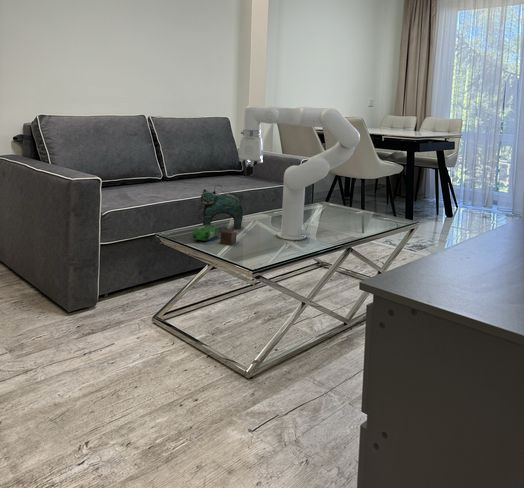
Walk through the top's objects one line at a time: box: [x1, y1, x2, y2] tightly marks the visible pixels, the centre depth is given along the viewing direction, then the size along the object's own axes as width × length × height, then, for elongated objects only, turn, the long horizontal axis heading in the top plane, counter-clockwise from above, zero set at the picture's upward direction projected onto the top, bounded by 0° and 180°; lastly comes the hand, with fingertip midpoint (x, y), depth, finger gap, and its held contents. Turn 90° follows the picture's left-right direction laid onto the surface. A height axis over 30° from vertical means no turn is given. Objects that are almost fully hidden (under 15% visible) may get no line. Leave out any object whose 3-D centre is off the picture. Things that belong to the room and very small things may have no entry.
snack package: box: [192, 224, 220, 242], centre depth 209 cm, size 7×16×5 cm, turn 160°
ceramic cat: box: [200, 184, 244, 229], centre depth 231 cm, size 20×6×20 cm, turn 99°
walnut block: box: [219, 228, 238, 246], centre depth 205 cm, size 5×5×5 cm
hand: (249, 175), depth 220 cm, fingers closed
